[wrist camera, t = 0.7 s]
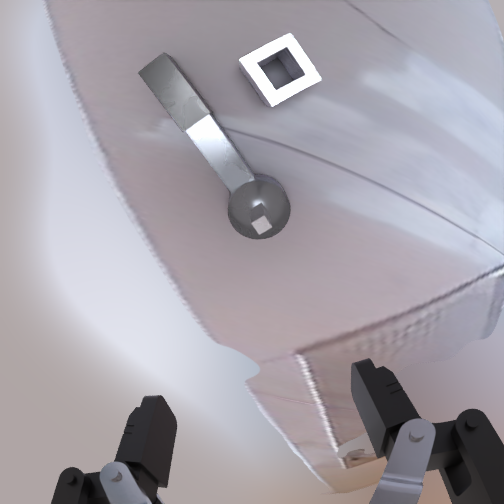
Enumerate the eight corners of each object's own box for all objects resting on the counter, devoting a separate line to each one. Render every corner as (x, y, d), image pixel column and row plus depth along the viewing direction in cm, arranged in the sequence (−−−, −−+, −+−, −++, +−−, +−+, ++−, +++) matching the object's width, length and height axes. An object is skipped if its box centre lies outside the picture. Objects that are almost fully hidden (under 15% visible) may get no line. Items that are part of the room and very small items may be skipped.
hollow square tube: (239, 68, 24) (239, 59, 19) (280, 46, 23) (290, 32, 18) (266, 106, 27) (272, 106, 21) (306, 83, 25) (322, 79, 20)
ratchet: (296, 209, 32) (308, 234, 27) (249, 237, 34) (251, 266, 28) (183, 47, 23) (168, 34, 17) (135, 84, 24) (109, 81, 19)
